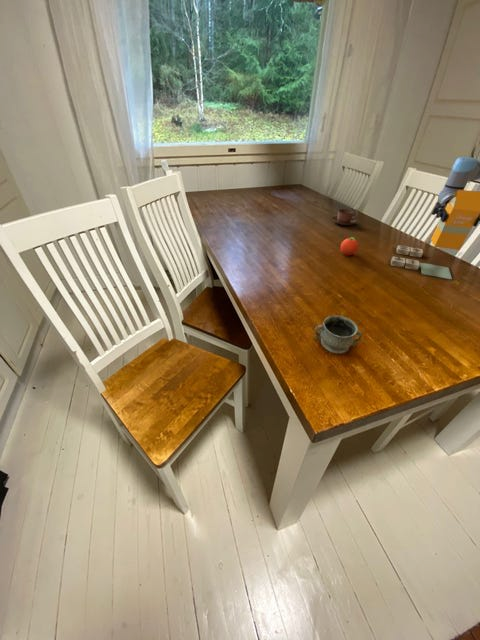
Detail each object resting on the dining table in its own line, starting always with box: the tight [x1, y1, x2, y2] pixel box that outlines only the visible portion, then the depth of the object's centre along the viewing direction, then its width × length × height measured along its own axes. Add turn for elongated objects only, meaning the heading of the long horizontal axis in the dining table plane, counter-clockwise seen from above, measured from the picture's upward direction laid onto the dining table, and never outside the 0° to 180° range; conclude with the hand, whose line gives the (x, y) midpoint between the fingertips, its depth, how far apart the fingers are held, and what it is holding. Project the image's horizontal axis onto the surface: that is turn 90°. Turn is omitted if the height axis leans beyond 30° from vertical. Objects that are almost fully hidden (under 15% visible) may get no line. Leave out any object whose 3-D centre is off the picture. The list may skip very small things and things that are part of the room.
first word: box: [396, 245, 424, 258], centre depth 117 cm, size 10×4×2 cm, turn 66°
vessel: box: [313, 314, 363, 354], centre depth 71 cm, size 12×9×6 cm
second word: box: [390, 255, 453, 281], centre depth 107 cm, size 21×10×2 cm, turn 66°
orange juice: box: [430, 189, 480, 251], centre depth 103 cm, size 8×9×20 cm
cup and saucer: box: [332, 208, 358, 226], centre depth 144 cm, size 12×12×6 cm
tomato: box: [340, 236, 359, 256], centre depth 114 cm, size 8×7×7 cm
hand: (460, 220), depth 99 cm, fingers closed on orange juice, 9 cm apart
